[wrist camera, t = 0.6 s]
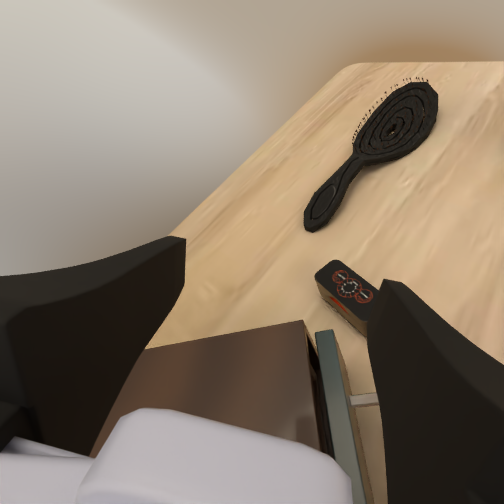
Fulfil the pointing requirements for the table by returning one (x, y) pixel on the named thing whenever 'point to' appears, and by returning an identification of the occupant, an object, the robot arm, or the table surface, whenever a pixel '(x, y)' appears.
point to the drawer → (342, 415)
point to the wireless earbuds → (347, 293)
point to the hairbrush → (378, 145)
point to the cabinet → (232, 383)
